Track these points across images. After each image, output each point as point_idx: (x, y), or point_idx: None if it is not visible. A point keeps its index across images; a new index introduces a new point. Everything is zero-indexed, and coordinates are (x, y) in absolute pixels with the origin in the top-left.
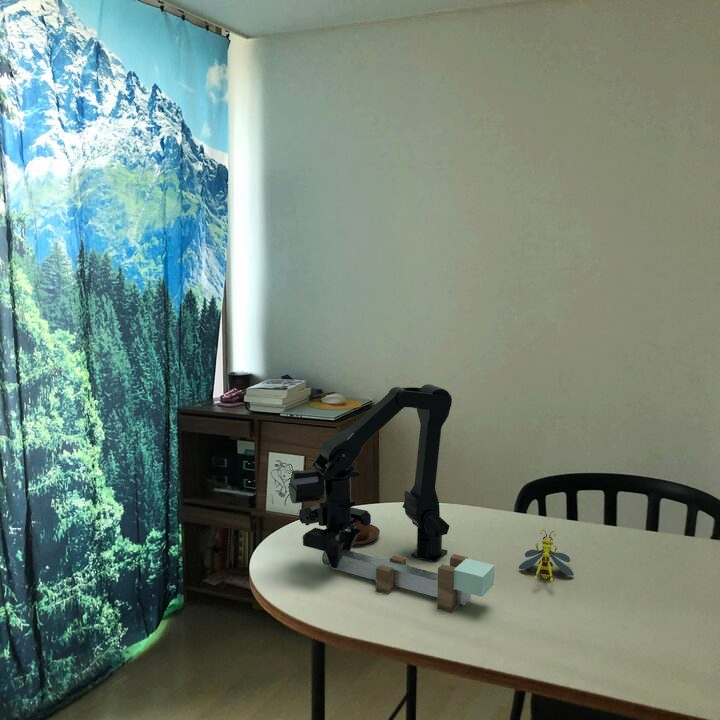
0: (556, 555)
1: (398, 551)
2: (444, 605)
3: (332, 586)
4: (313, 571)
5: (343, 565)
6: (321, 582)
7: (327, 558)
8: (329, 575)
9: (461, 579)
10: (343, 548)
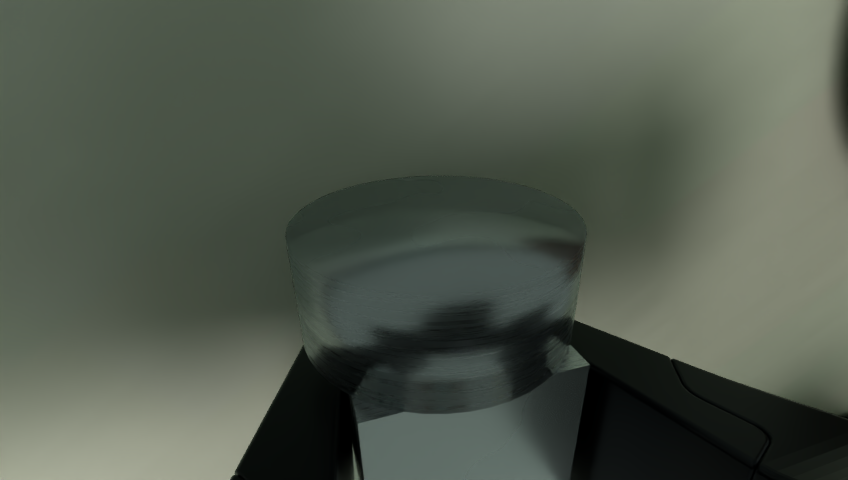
0: None
1: (811, 363)
2: None
3: (93, 470)
4: (197, 89)
5: (355, 478)
6: (56, 354)
7: (305, 346)
8: (258, 301)
9: None
10: (590, 447)
